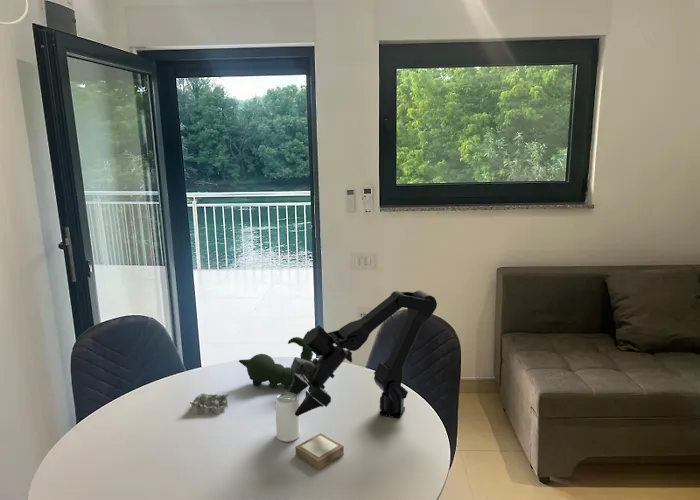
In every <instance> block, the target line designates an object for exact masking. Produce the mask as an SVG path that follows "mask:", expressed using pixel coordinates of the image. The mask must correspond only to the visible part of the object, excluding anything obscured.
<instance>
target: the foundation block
mask: <svg viewBox="0 0 700 500" xmlns="http://www.w3.org/2000/svg"><path fill="white" fill-rule="evenodd" d="M294 448H295V456H296V457H297V458H299V459H301V460H302V461H304V462H305V463H307V464H309V465H310V466H312V467H313V468H314V469H317V470H319V471H320V470H321V469H323V468H324V467H326V466H327V465H330V464H331V463H333V462H334V461H335V460H337V459H339V458H340V457H342V456H343V455H345V454H344V452H345V451H344V445H342V444H341V443H340V442H337V441H335V440H334V439H332V438H330V437H328V436H327V435H325V434H323V433H321V432H320V433H318V434H316V435H314V436H313V437H310V438H308V439H307V440H305V441H304V442H301V443H300V444H298V445H296V446H295V447H294Z"/></svg>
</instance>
